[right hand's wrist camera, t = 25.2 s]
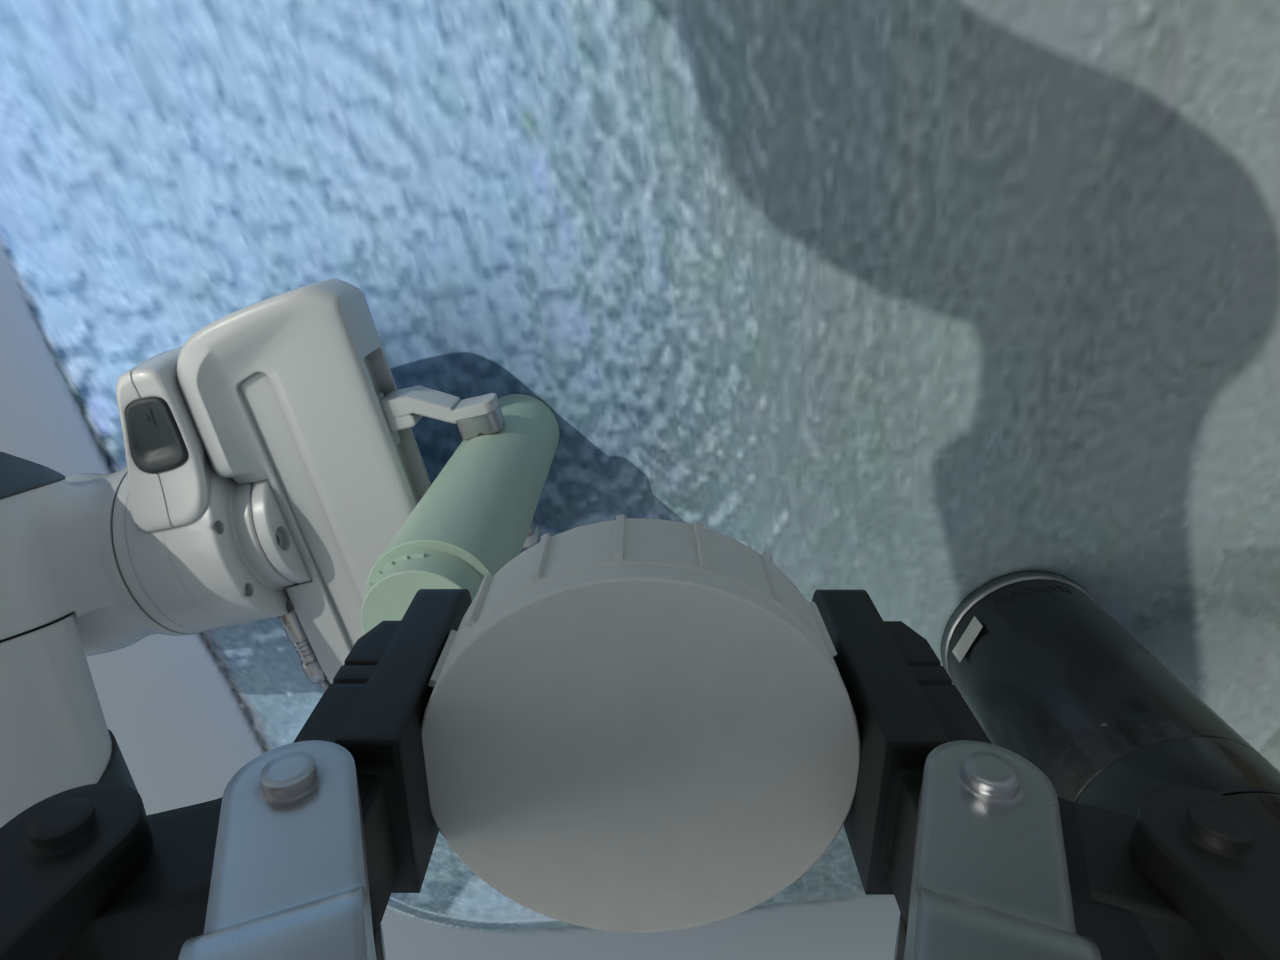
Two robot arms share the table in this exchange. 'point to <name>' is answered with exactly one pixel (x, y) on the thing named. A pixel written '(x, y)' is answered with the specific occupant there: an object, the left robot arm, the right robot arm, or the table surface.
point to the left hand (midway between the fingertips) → (517, 468)
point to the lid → (639, 729)
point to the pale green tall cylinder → (468, 513)
